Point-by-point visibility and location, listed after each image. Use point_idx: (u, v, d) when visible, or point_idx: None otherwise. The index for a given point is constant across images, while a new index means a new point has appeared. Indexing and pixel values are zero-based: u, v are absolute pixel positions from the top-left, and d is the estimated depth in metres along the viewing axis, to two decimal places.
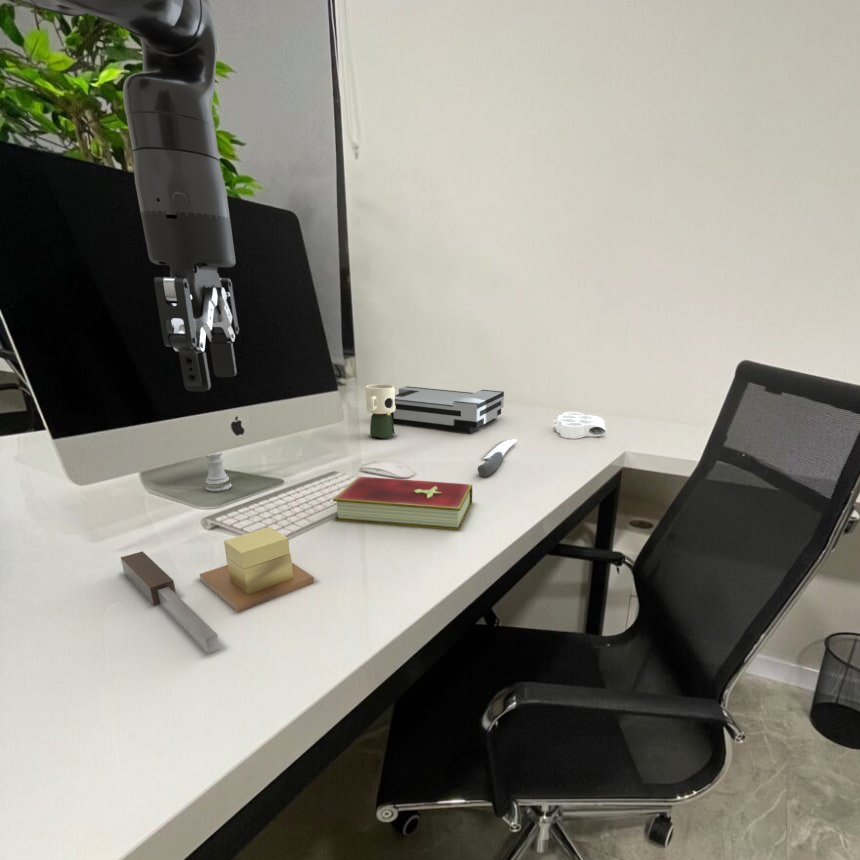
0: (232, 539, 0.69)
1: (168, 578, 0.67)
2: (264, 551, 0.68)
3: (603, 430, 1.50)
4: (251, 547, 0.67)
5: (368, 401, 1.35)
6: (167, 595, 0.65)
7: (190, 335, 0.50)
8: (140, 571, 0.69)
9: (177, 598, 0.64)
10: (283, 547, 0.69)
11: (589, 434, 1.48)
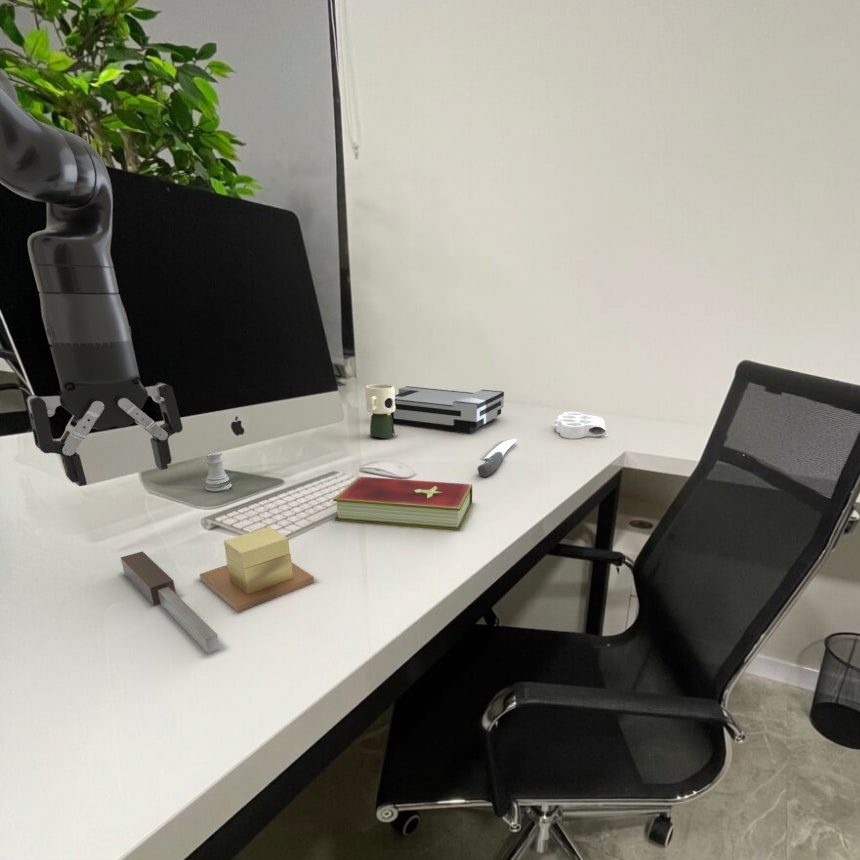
0: (232, 539, 0.69)
1: (168, 578, 0.67)
2: (264, 551, 0.68)
3: (603, 430, 1.50)
4: (251, 547, 0.67)
5: (368, 401, 1.35)
6: (167, 595, 0.65)
7: (39, 444, 0.59)
8: (140, 571, 0.69)
9: (177, 598, 0.64)
10: (283, 547, 0.69)
11: (589, 434, 1.48)
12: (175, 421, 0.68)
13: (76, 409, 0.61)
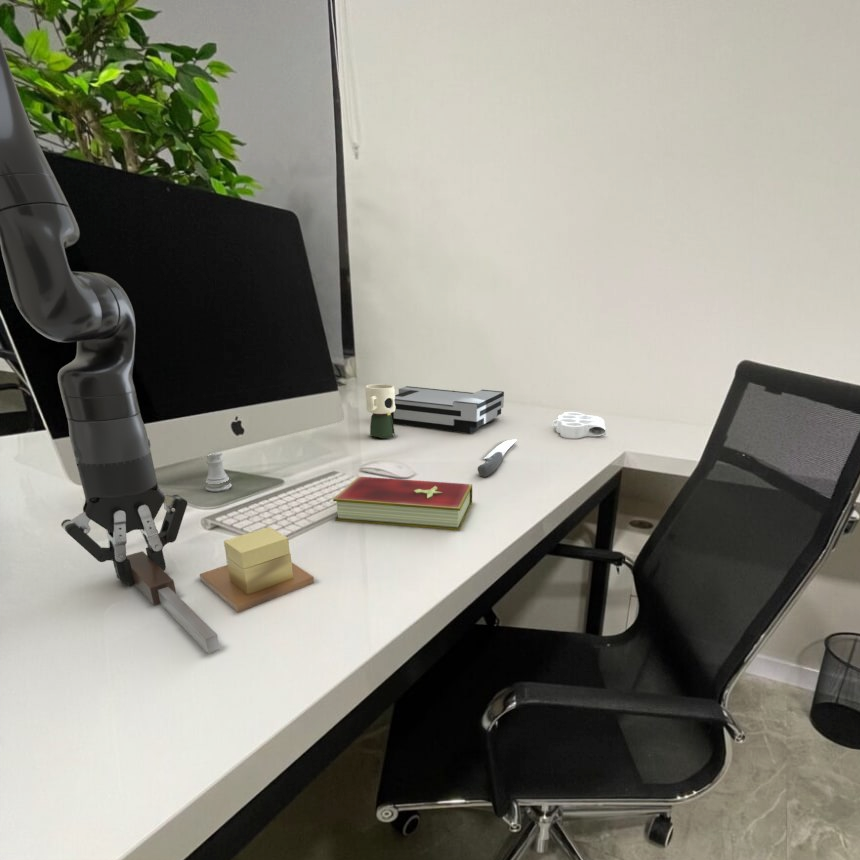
0: (232, 539, 0.69)
1: (168, 578, 0.67)
2: (264, 551, 0.68)
3: (603, 430, 1.50)
4: (251, 547, 0.67)
5: (368, 401, 1.35)
6: (167, 595, 0.65)
7: (96, 554, 0.66)
8: (140, 571, 0.69)
9: (177, 598, 0.64)
10: (283, 547, 0.69)
11: (589, 434, 1.48)
12: (173, 532, 0.72)
13: (100, 519, 0.66)
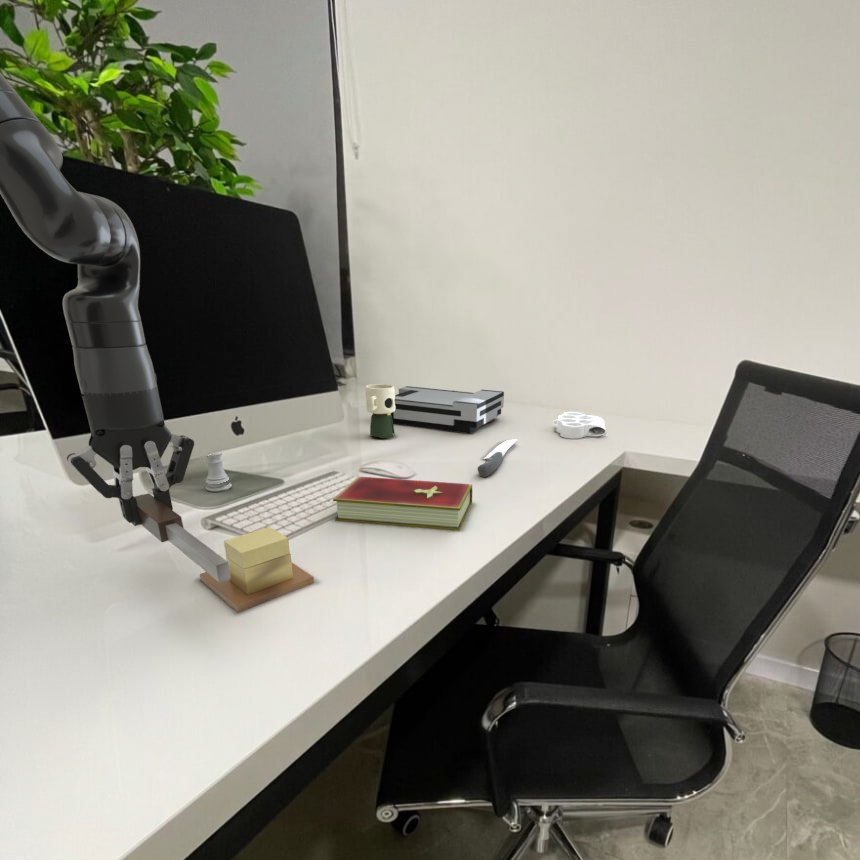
0: (232, 539, 0.69)
1: (176, 515, 0.66)
2: (264, 551, 0.68)
3: (603, 430, 1.50)
4: (251, 547, 0.67)
5: (368, 401, 1.35)
6: (176, 529, 0.64)
7: (102, 490, 0.65)
8: (147, 509, 0.67)
9: (185, 532, 0.63)
10: (283, 547, 0.69)
11: (589, 434, 1.48)
12: (180, 472, 0.71)
13: (106, 453, 0.64)
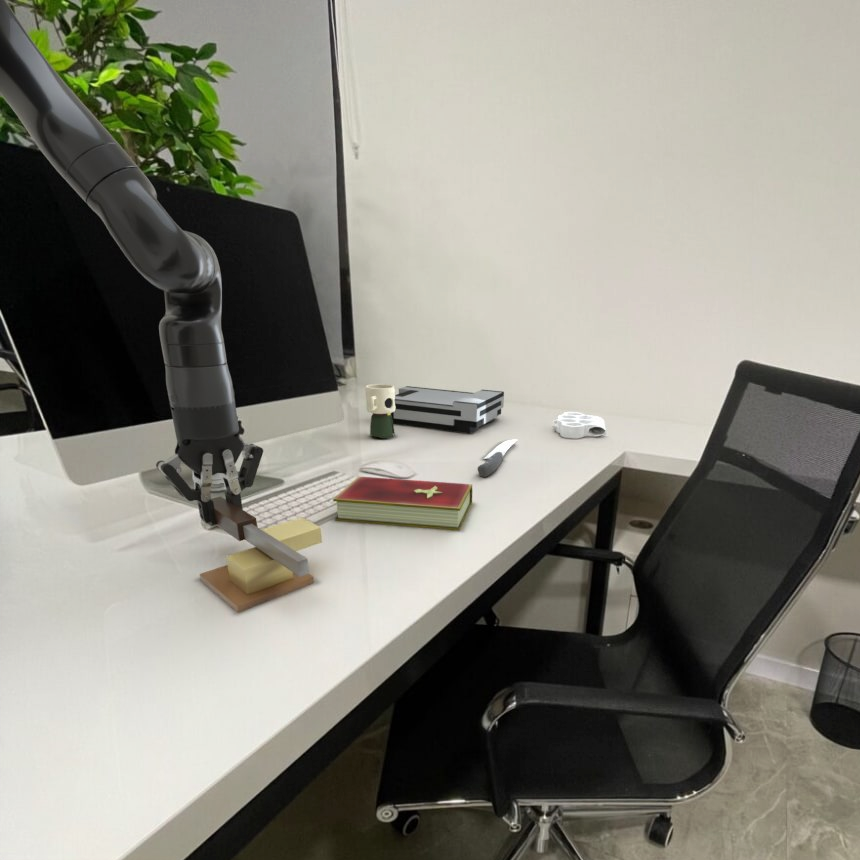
0: (268, 529, 0.72)
1: (251, 516, 0.73)
2: (298, 540, 0.71)
3: (603, 430, 1.50)
4: (286, 535, 0.70)
5: (368, 401, 1.35)
6: (253, 530, 0.71)
7: (186, 494, 0.72)
8: (224, 511, 0.75)
9: (263, 532, 0.70)
10: (316, 536, 0.73)
11: (589, 434, 1.48)
12: (250, 477, 0.78)
13: (190, 460, 0.71)
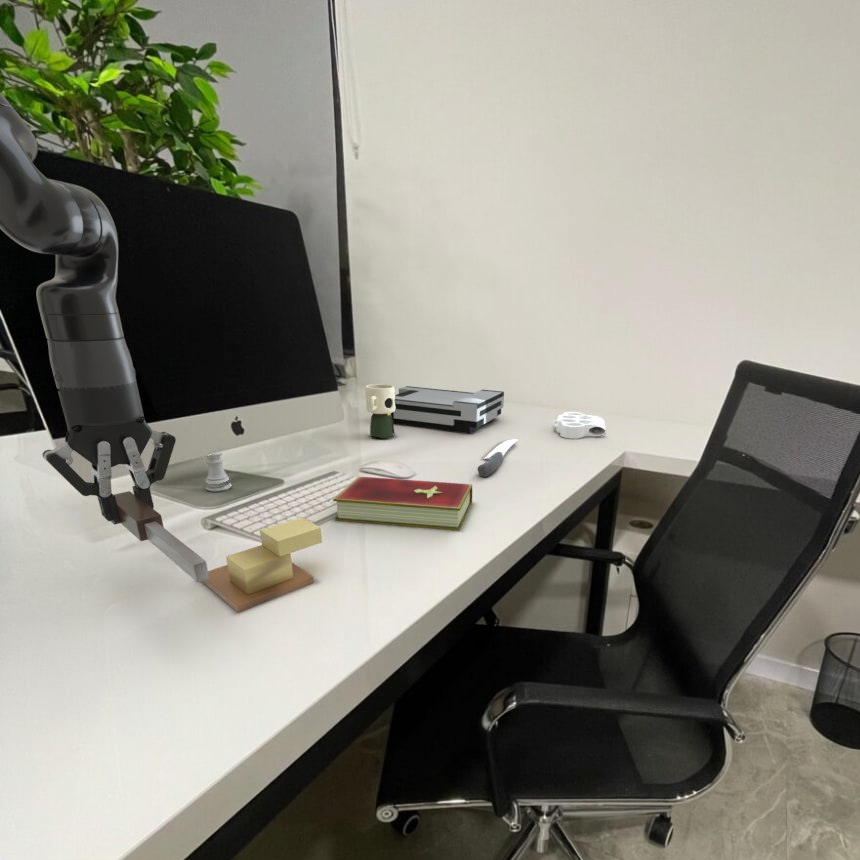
0: (268, 529, 0.72)
1: (156, 513, 0.64)
2: (298, 540, 0.71)
3: (603, 430, 1.50)
4: (286, 535, 0.70)
5: (368, 401, 1.35)
6: (155, 528, 0.62)
7: (79, 488, 0.63)
8: (127, 507, 0.66)
9: (165, 531, 0.61)
10: (316, 536, 0.73)
11: (589, 434, 1.48)
12: (161, 469, 0.69)
13: (83, 449, 0.63)
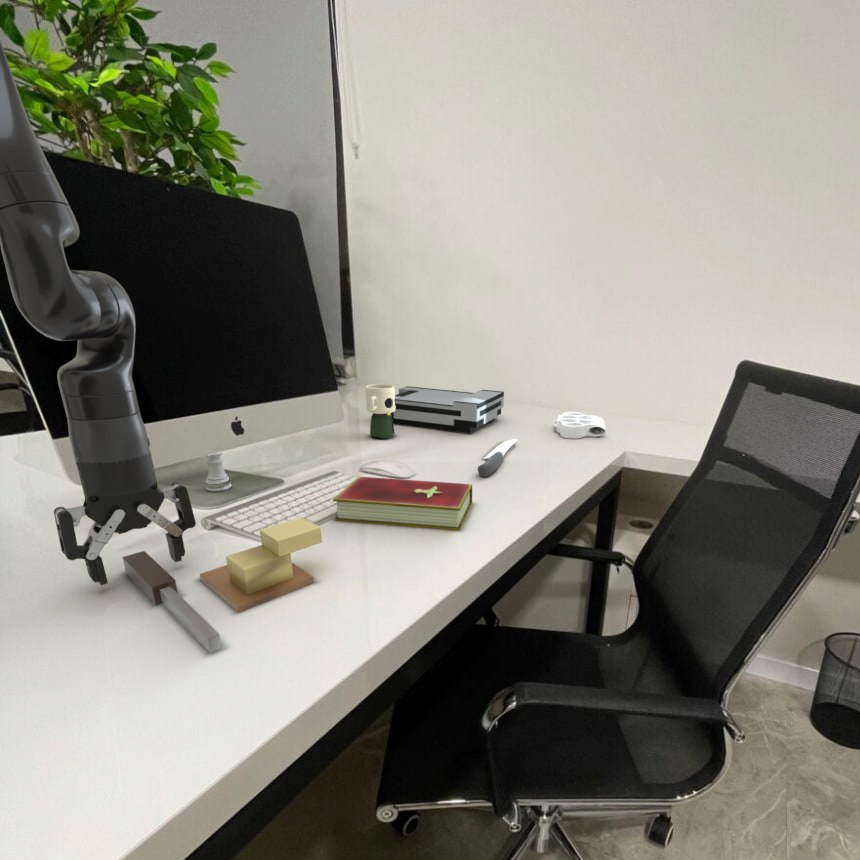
0: (268, 529, 0.72)
1: (170, 578, 0.68)
2: (298, 540, 0.71)
3: (603, 430, 1.50)
4: (286, 535, 0.70)
5: (368, 401, 1.35)
6: (169, 594, 0.65)
7: (66, 553, 0.64)
8: (142, 571, 0.69)
9: (179, 598, 0.65)
10: (316, 536, 0.73)
11: (589, 434, 1.48)
12: (189, 518, 0.73)
13: (99, 518, 0.66)
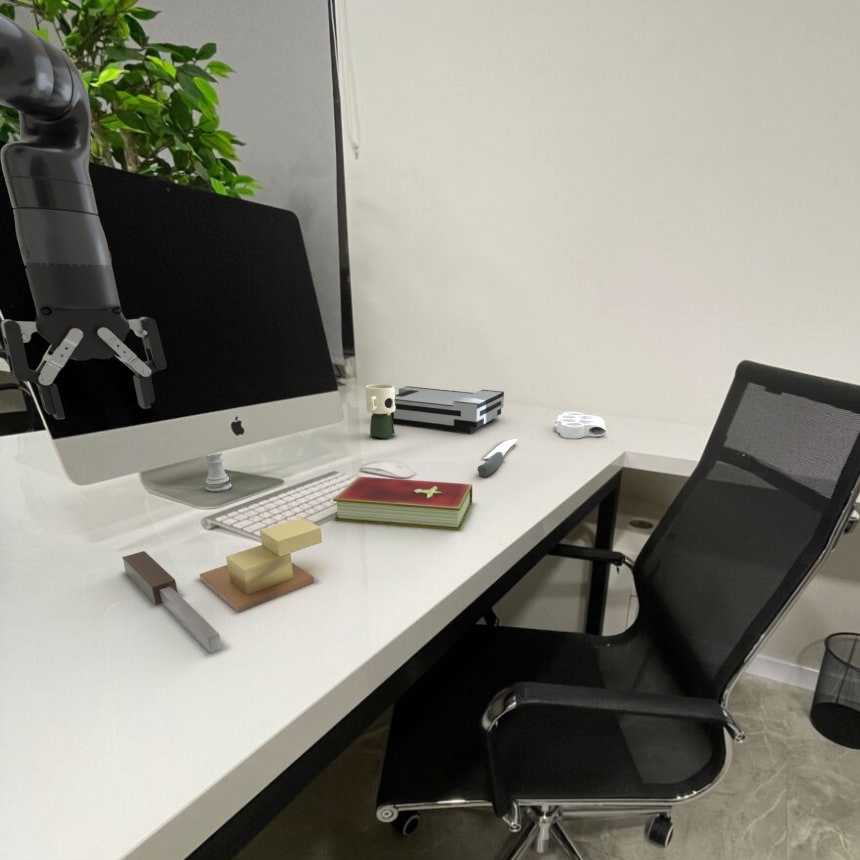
0: (268, 529, 0.72)
1: (170, 578, 0.68)
2: (298, 540, 0.71)
3: (603, 430, 1.50)
4: (286, 535, 0.70)
5: (368, 401, 1.35)
6: (169, 594, 0.65)
7: (14, 370, 0.56)
8: (142, 571, 0.69)
9: (179, 598, 0.65)
10: (316, 536, 0.73)
11: (589, 434, 1.48)
12: (159, 357, 0.66)
13: (53, 336, 0.58)
